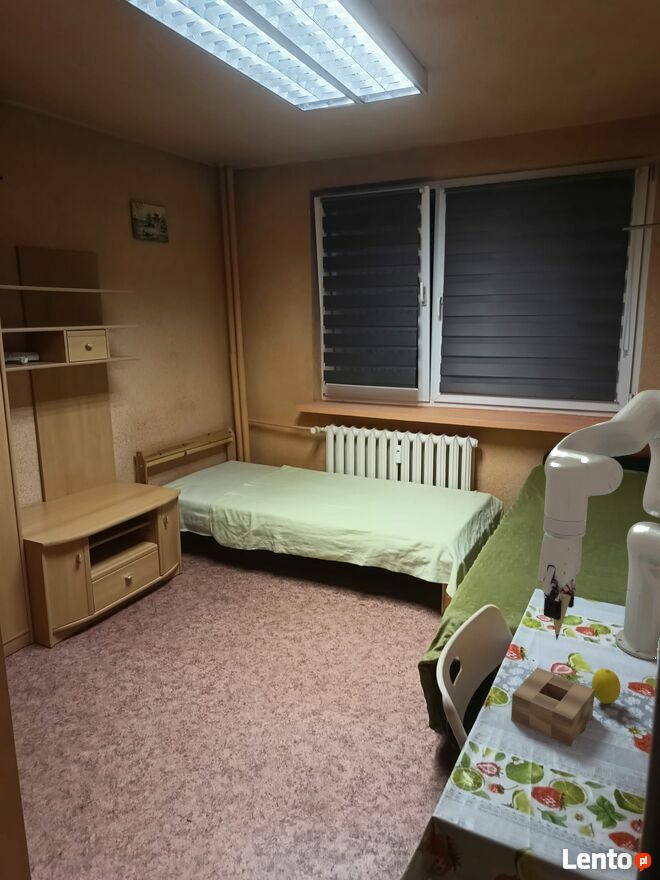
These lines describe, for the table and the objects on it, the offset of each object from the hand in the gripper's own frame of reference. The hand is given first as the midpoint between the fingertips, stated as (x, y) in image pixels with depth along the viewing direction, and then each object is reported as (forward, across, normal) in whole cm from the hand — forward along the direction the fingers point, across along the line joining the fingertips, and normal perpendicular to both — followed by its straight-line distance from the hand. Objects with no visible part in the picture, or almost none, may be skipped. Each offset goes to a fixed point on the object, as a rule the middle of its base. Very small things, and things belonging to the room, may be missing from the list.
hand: (558, 610), depth 118 cm
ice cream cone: (+7, 0, 0) cm, 7 cm away
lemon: (+24, -11, +7) cm, 27 cm away
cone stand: (+24, 0, 0) cm, 24 cm away
